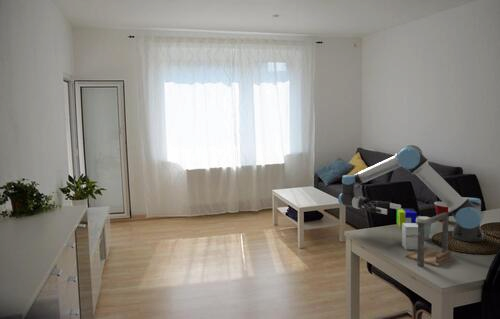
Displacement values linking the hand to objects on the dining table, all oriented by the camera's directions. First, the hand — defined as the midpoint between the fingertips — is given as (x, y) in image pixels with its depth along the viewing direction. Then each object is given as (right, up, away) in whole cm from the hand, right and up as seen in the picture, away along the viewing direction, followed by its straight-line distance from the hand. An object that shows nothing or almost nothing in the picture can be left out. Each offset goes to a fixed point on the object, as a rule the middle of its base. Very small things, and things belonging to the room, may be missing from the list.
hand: (393, 209), depth 201 cm
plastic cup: (+47, -13, +37) cm, 61 cm away
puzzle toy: (+20, -15, +31) cm, 40 cm away
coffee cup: (+20, -18, +7) cm, 27 cm away
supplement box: (+7, -20, -5) cm, 22 cm away
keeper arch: (+10, -21, -20) cm, 31 cm away
